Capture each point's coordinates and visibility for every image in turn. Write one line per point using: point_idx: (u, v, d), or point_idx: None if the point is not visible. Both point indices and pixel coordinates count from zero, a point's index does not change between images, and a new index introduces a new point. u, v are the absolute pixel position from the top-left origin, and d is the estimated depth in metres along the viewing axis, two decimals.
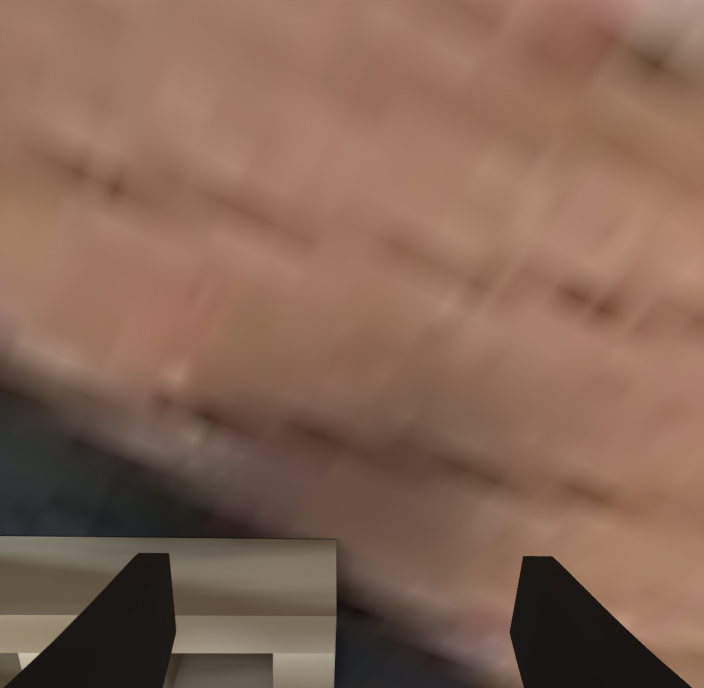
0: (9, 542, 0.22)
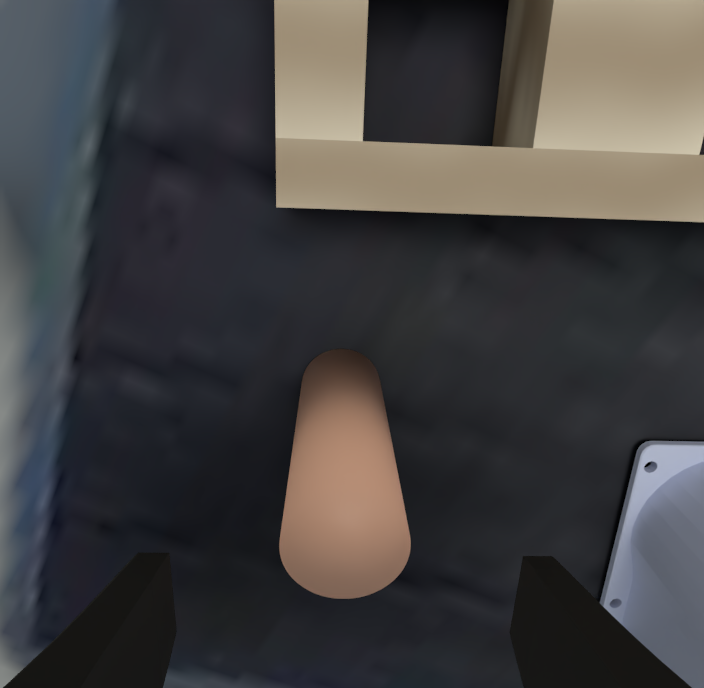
0: None
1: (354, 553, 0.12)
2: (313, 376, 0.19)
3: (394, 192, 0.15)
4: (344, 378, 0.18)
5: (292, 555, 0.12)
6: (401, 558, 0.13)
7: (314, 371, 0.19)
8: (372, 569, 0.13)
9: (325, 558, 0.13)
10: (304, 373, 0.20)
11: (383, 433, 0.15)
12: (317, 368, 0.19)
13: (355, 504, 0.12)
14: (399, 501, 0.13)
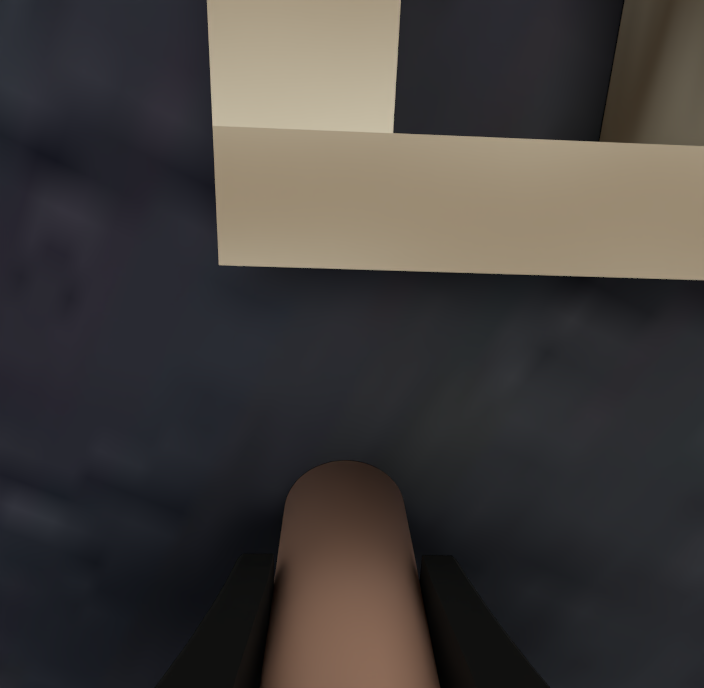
0: None
1: None
2: (300, 520, 0.12)
3: (454, 236, 0.07)
4: (352, 539, 0.10)
5: None
6: None
7: (302, 507, 0.12)
8: None
9: None
10: (287, 498, 0.13)
11: None
12: (306, 500, 0.12)
13: None
14: None
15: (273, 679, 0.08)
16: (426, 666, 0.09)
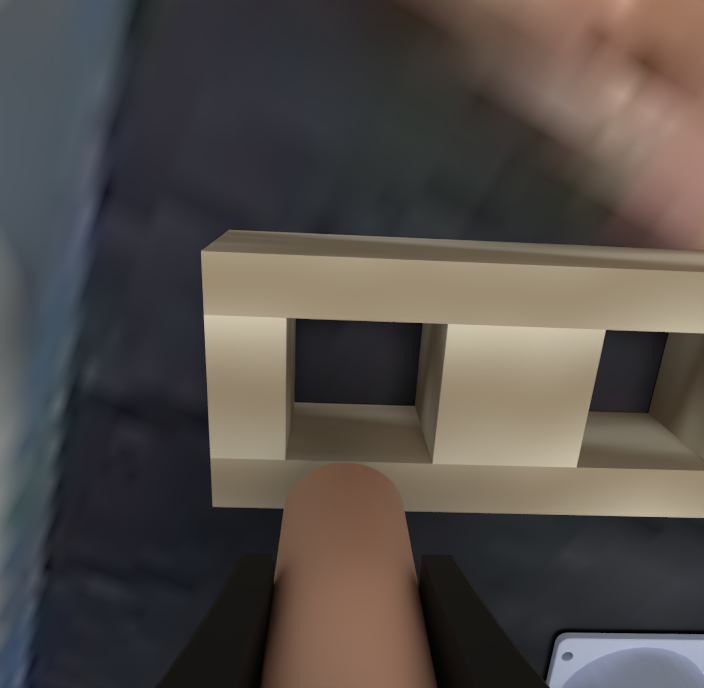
0: (372, 237, 0.18)
1: None
2: (301, 522, 0.12)
3: None
4: (353, 543, 0.10)
5: None
6: None
7: (303, 509, 0.12)
8: None
9: None
10: (287, 499, 0.13)
11: None
12: (307, 502, 0.12)
13: None
14: None
15: (274, 684, 0.08)
16: (426, 674, 0.09)
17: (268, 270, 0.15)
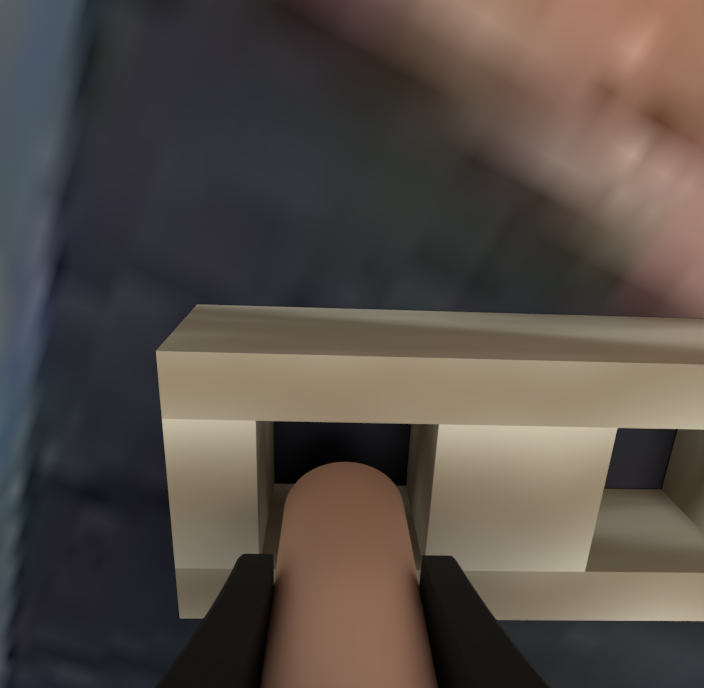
0: (356, 312, 0.16)
1: None
2: (301, 521, 0.12)
3: None
4: (353, 542, 0.10)
5: None
6: None
7: (303, 508, 0.12)
8: None
9: None
10: (288, 498, 0.13)
11: None
12: (307, 501, 0.12)
13: None
14: None
15: (274, 683, 0.08)
16: (426, 673, 0.09)
17: (233, 370, 0.13)
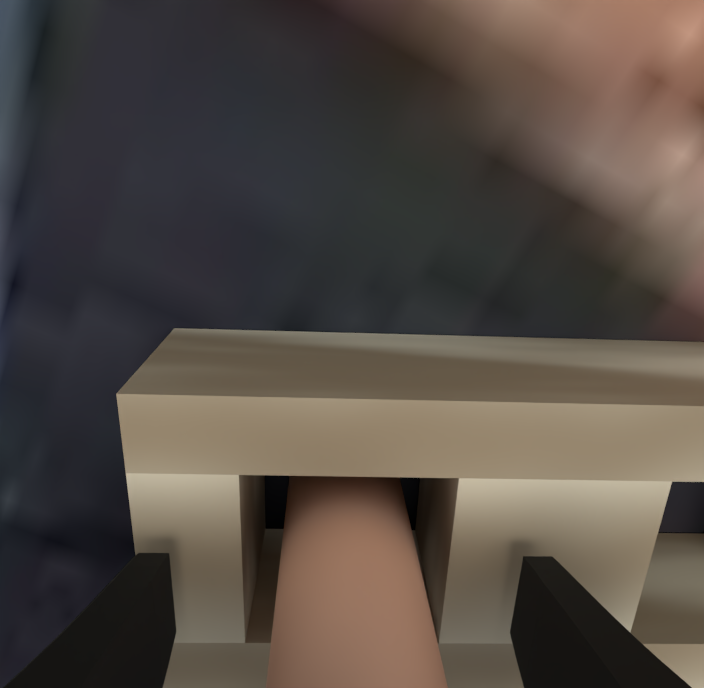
0: (359, 337, 0.14)
1: None
2: None
3: None
4: None
5: None
6: None
7: None
8: None
9: None
10: None
11: (414, 578, 0.10)
12: None
13: None
14: None
15: (290, 572, 0.10)
16: (413, 565, 0.11)
17: (211, 416, 0.11)
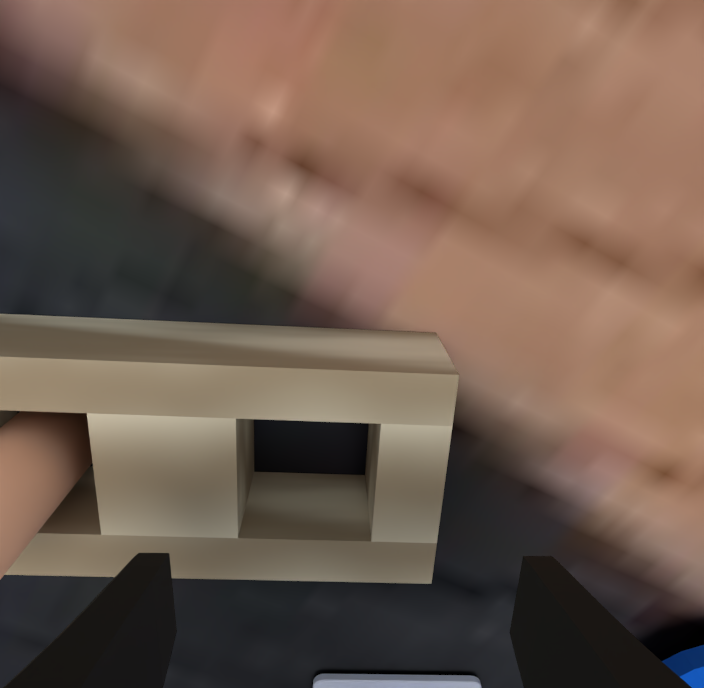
0: (68, 319, 0.19)
1: None
2: None
3: None
4: (37, 414, 0.18)
5: None
6: None
7: None
8: None
9: None
10: None
11: (29, 474, 0.16)
12: None
13: None
14: None
15: None
16: (38, 468, 0.16)
17: None
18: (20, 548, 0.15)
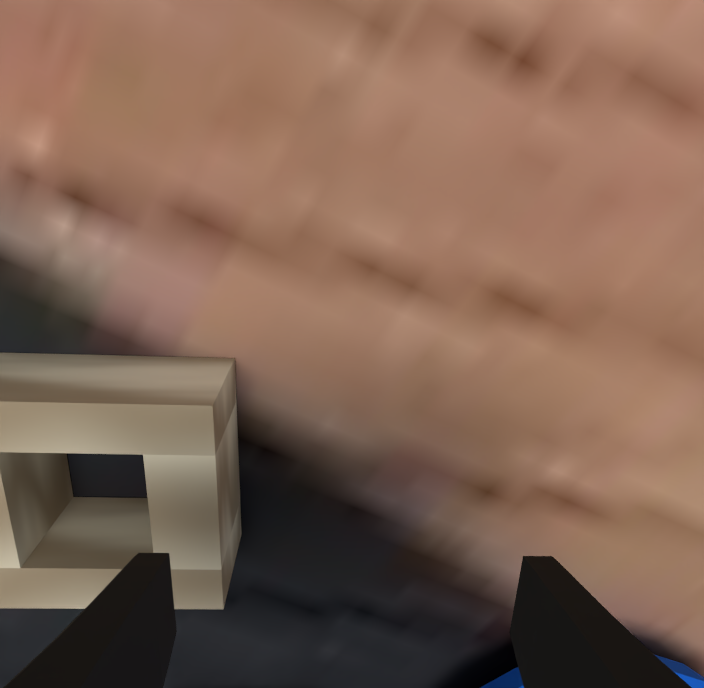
0: None
1: None
2: None
3: None
4: None
5: None
6: None
7: None
8: None
9: None
10: None
11: None
12: None
13: None
14: None
15: None
16: None
17: None
18: None
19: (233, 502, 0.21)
